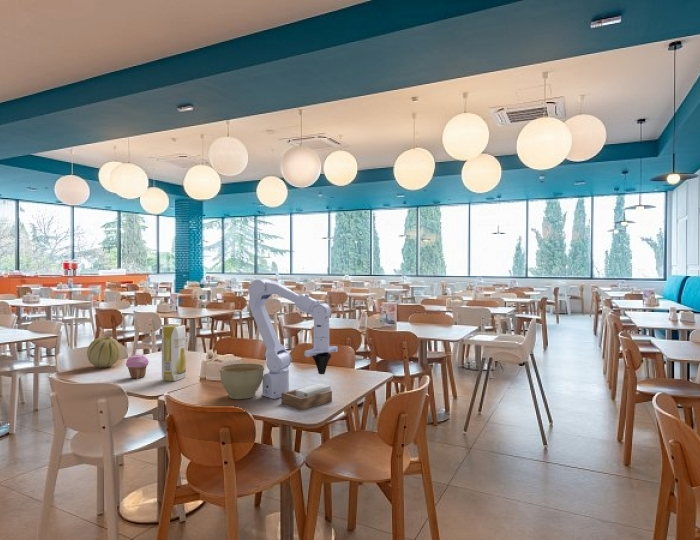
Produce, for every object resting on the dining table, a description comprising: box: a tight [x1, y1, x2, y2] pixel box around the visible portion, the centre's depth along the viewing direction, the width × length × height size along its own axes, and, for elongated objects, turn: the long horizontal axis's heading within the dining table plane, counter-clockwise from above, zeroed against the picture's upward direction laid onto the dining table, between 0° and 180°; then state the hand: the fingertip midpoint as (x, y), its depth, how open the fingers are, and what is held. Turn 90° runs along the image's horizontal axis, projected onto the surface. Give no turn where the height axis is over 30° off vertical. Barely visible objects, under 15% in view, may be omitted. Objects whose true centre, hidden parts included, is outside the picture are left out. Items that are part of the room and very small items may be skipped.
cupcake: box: [125, 354, 150, 379], centre depth 205 cm, size 9×9×10 cm
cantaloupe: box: [86, 335, 122, 368], centre depth 226 cm, size 15×15×15 cm
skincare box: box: [295, 382, 332, 398], centre depth 169 cm, size 6×4×12 cm
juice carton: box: [161, 322, 187, 382], centre depth 202 cm, size 9×8×24 cm
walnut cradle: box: [281, 386, 333, 410], centre depth 167 cm, size 14×11×4 cm
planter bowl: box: [219, 362, 265, 400], centre depth 175 cm, size 16×16×11 cm
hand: (321, 373), depth 172 cm, fingers closed
